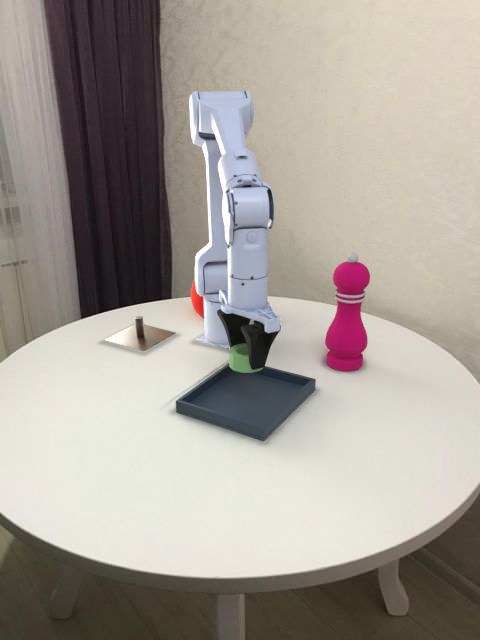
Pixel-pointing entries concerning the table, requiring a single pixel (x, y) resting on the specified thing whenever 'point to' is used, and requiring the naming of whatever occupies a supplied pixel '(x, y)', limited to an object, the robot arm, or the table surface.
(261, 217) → the robot arm
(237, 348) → the ring
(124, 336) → the stand
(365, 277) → the pepper mill
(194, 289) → the tomato
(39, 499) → the table surface
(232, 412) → the tray
